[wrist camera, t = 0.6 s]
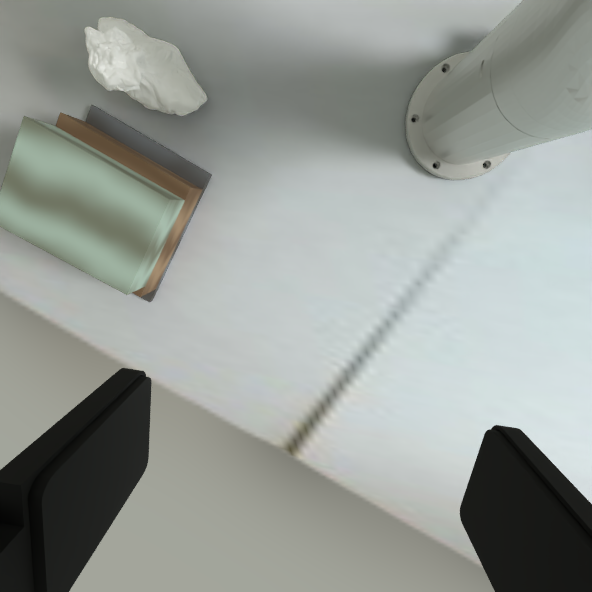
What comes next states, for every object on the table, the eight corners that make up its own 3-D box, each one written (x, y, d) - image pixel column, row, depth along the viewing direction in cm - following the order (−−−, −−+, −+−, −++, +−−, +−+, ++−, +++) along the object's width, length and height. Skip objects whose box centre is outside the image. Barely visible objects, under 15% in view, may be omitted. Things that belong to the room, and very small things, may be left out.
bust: (130, 54, 39) (42, 76, 32) (138, -20, 34) (33, -12, 26) (211, 126, 41) (144, 163, 34) (232, 68, 35) (158, 97, 28)
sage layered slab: (96, 106, 39) (35, 78, 30) (211, 174, 40) (184, 165, 32) (46, 243, 43) (-19, 251, 35) (152, 300, 44) (114, 322, 36)
